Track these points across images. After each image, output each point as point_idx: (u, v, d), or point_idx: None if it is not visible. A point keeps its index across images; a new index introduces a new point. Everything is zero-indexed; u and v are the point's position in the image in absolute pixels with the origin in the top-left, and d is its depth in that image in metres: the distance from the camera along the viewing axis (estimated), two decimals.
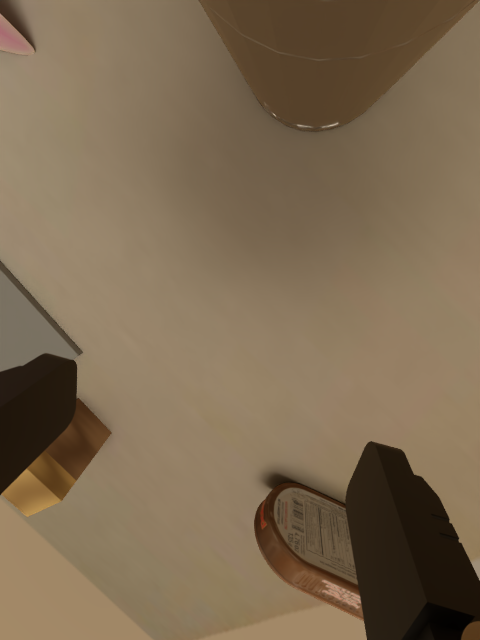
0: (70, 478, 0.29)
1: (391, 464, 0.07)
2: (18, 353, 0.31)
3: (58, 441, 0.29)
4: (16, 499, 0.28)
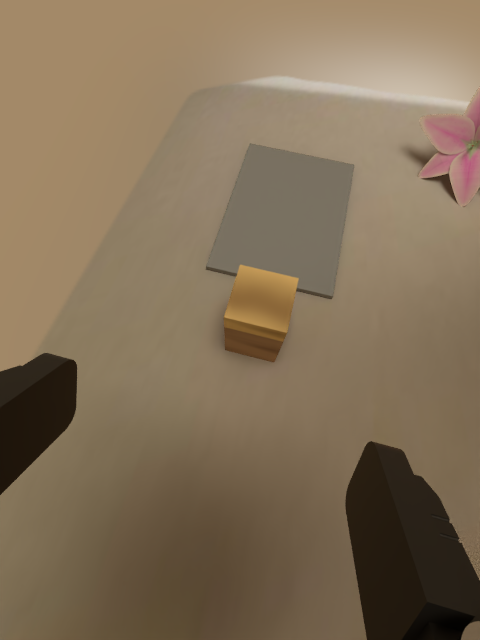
0: None
1: (391, 464, 0.07)
2: (289, 258, 0.37)
3: None
4: (241, 298, 0.26)
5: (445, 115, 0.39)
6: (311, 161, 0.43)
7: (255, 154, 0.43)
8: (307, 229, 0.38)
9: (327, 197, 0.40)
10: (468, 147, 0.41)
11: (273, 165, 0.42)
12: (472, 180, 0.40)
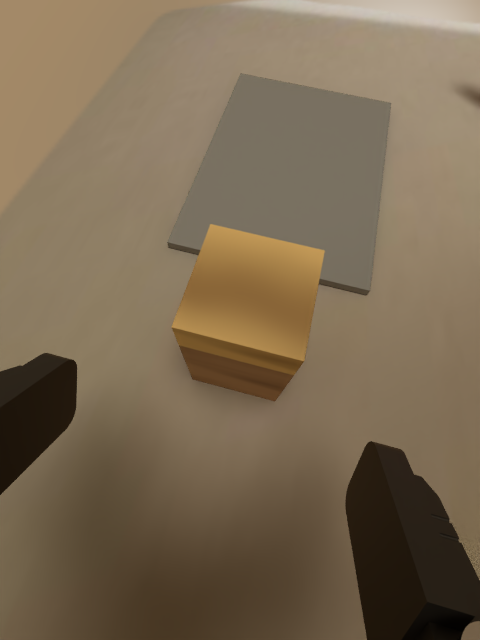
0: None
1: (391, 464, 0.07)
2: (298, 232, 0.23)
3: None
4: (210, 288, 0.13)
5: None
6: (329, 97, 0.30)
7: (248, 87, 0.30)
8: (326, 189, 0.25)
9: (354, 145, 0.27)
10: None
11: (274, 101, 0.29)
12: None
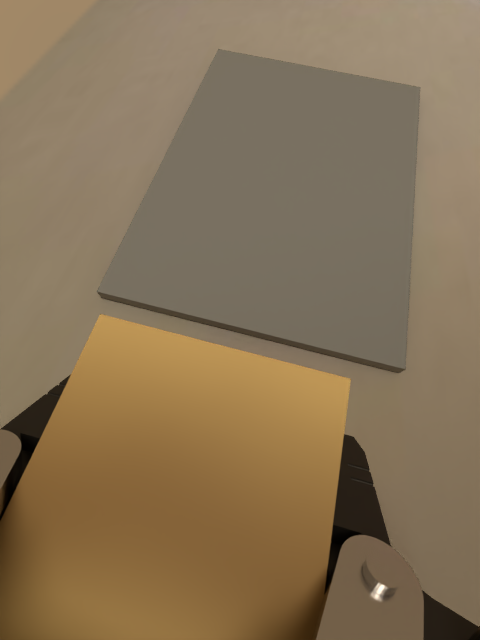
0: None
1: None
2: (295, 273, 0.16)
3: None
4: (72, 494, 0.05)
5: None
6: (337, 80, 0.22)
7: (228, 67, 0.22)
8: (334, 208, 0.17)
9: (373, 144, 0.20)
10: None
11: (262, 85, 0.21)
12: None
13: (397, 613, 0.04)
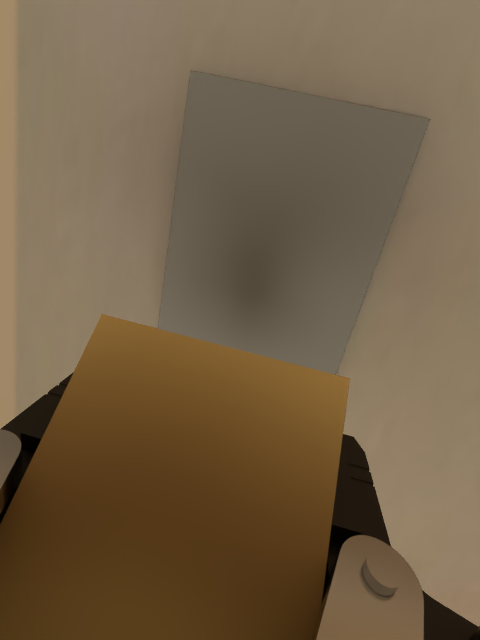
0: None
1: None
2: (266, 353, 0.25)
3: None
4: (74, 492, 0.05)
5: None
6: (328, 119, 0.19)
7: (205, 109, 0.20)
8: (299, 301, 0.23)
9: (346, 226, 0.21)
10: None
11: (243, 141, 0.20)
12: None
13: (397, 613, 0.04)
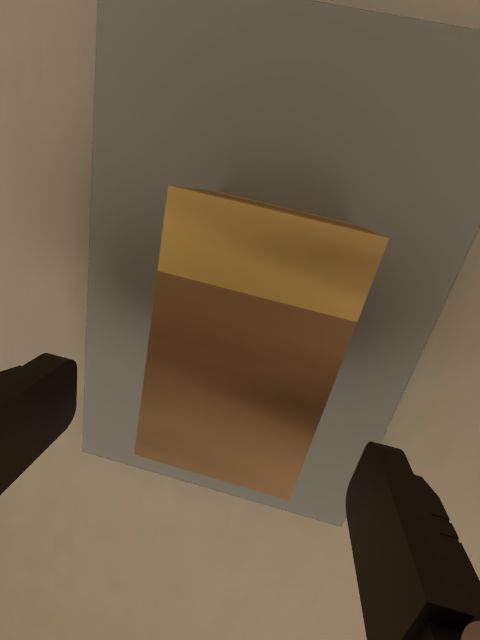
0: None
1: (391, 464, 0.07)
2: None
3: None
4: (223, 195, 0.09)
5: None
6: (358, 51, 0.10)
7: (130, 41, 0.11)
8: None
9: (388, 251, 0.12)
10: None
11: (201, 99, 0.11)
12: None
13: None
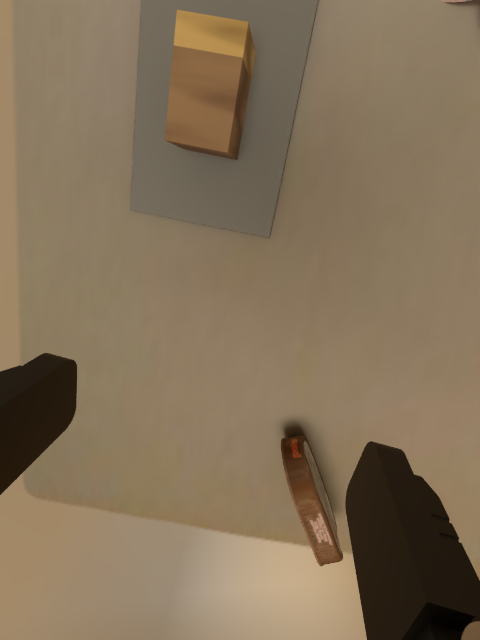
0: (244, 57, 0.23)
1: (391, 464, 0.07)
2: (219, 190, 0.31)
3: (245, 95, 0.27)
4: None
5: None
6: None
7: None
8: (242, 137, 0.29)
9: (272, 65, 0.27)
10: None
11: None
12: None
13: None
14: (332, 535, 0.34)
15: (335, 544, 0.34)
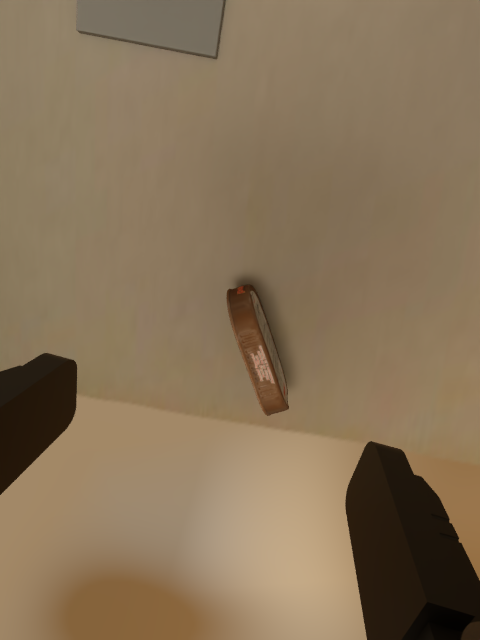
0: None
1: (391, 464, 0.07)
2: (164, 1, 0.30)
3: None
4: None
5: None
6: None
7: None
8: None
9: None
10: None
11: None
12: None
13: None
14: (274, 373, 0.33)
15: (277, 383, 0.33)
